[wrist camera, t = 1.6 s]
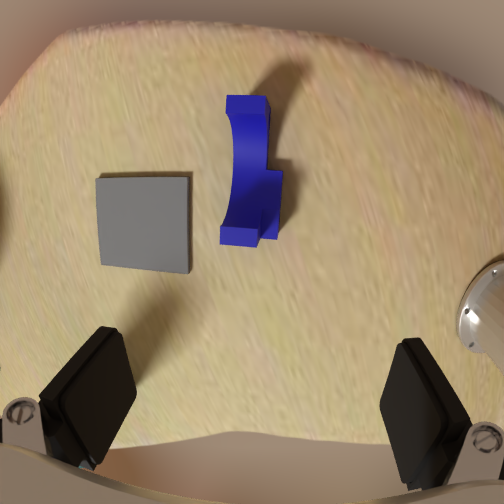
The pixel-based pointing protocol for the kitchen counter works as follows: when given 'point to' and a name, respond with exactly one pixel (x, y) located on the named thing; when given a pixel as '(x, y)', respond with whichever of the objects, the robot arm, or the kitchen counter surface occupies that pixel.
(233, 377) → the kitchen counter surface
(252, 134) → the blue angular piece
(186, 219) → the mat
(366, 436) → the kitchen counter surface
